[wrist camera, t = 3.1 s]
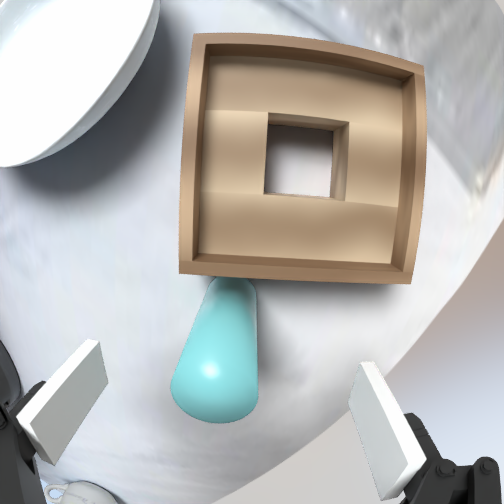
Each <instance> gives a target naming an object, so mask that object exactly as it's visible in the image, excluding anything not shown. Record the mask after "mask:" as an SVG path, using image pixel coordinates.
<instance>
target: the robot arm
mask: <svg viewBox="0 0 504 504" xmlns="http://www.w3.org/2000/svg"><path fill="white" fill-rule="evenodd" d="M107 384H108V379H107V375H106V370H105V366H104V362H103V357H102V352H101V347H100V342H99V341H95V340H90V339H87V340H86V341H85V342H84V343H83V344H82V345H81V346H80V347H79V348H78V349H77V350H76V351H75V352H74V353H73V354H72V355H71V356H70V358H69V359H68V360H67V361H66V362H65V363H64V364H63V365H62V366H61V367H60V368H59V369H58V370H57V371H56V372H55V374H54V375H53V376H52V377H51V378H50V379H49V380H48V381H47V382H45V381H41V382H39V383H37V384H36V385H34V386H33V387H32V388H31V389H30V390H29V393H27V394H26V395H25V396H24V398H22V399H21V400H20V401H19V402H18V404H17V405H16V406H15V407H14V408H13V409H12V410H11V411H10V412H9V414H8V412H7V410H6V407H9V406H10V405H11V404H12V403H13V402H14V401H15V400H16V399H17V398H18V396H19V394H20V383H19V379H18V375H17V372H16V370H15V367H14V365H13V363H12V361H11V359H10V357H9V355H8V353H7V351H6V349H5V348H4V346H3V345H2V343H1V341H0V504H47V503H46V500H45V496H44V492H43V489H42V485H41V481H40V477H39V473H38V469H37V464H36V460H35V458H34V454H35V453H36V452H37V453H38V455H39V457H40V458H41V460H43V461H45V462H48V463H50V464H52V465H54V466H55V465H56V463H57V461H58V460H59V458H60V456H61V455H62V453H63V452H64V450H65V448H66V447H67V445H68V444H69V442H70V440H71V439H72V437H73V436H74V434H75V433H76V431H77V429H78V428H79V426H80V425H81V423H82V422H83V420H84V419H85V417H86V416H87V414H88V412H89V411H90V409H91V408H92V406H93V405H94V403H95V402H96V400H97V399H98V397H99V396H100V394H101V393H102V391H103V390H104V388H105V387H106V385H107ZM348 405H349V407H350V410H351V413H352V416H353V419H354V422H355V424H356V427H357V430H358V433H359V436H360V439H361V442H362V444H363V448H364V450H365V454H366V456H367V459H368V462H369V465H370V469H371V472H372V475H373V478H374V481H375V484H376V487H377V490H378V494H379V497H380V500H381V501H383V500H388V499H392V498H396V497H398V496H399V495H400V493H401V492H402V491H403V490H404V493H405V495H406V497H405V498H404V499H403V500H402V501H401V503H400V504H502V503H501V485H500V474H499V467H498V464H497V462H496V461H495V460H494V459H492V458H490V457H481V458H479V459H477V461H476V462H475V463H474V464H473V465H468V466H456V464H455V463H454V462H452V461H450V460H448V459H443V458H442V457H441V455H440V453H439V451H438V450H437V448H436V446H435V444H434V443H433V441H432V439H431V437H430V435H428V432H427V430H426V429H425V427H424V425H423V423H422V421H421V420H420V419H419V418H418V417H417V416H416V415H414V414H413V413H408V414H403V413H402V411H401V409H400V407H399V405H398V403H397V402H396V400H395V398H394V396H393V394H392V393H391V391H390V389H389V387H388V385H387V384H386V382H385V380H384V378H383V377H382V375H381V373H380V371H379V370H378V368H377V366H376V364H375V363H374V361H371V362H360V364H359V367H358V371H357V374H356V378H355V381H354V384H353V388H352V391H351V394H350V397H349V400H348Z"/></svg>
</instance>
